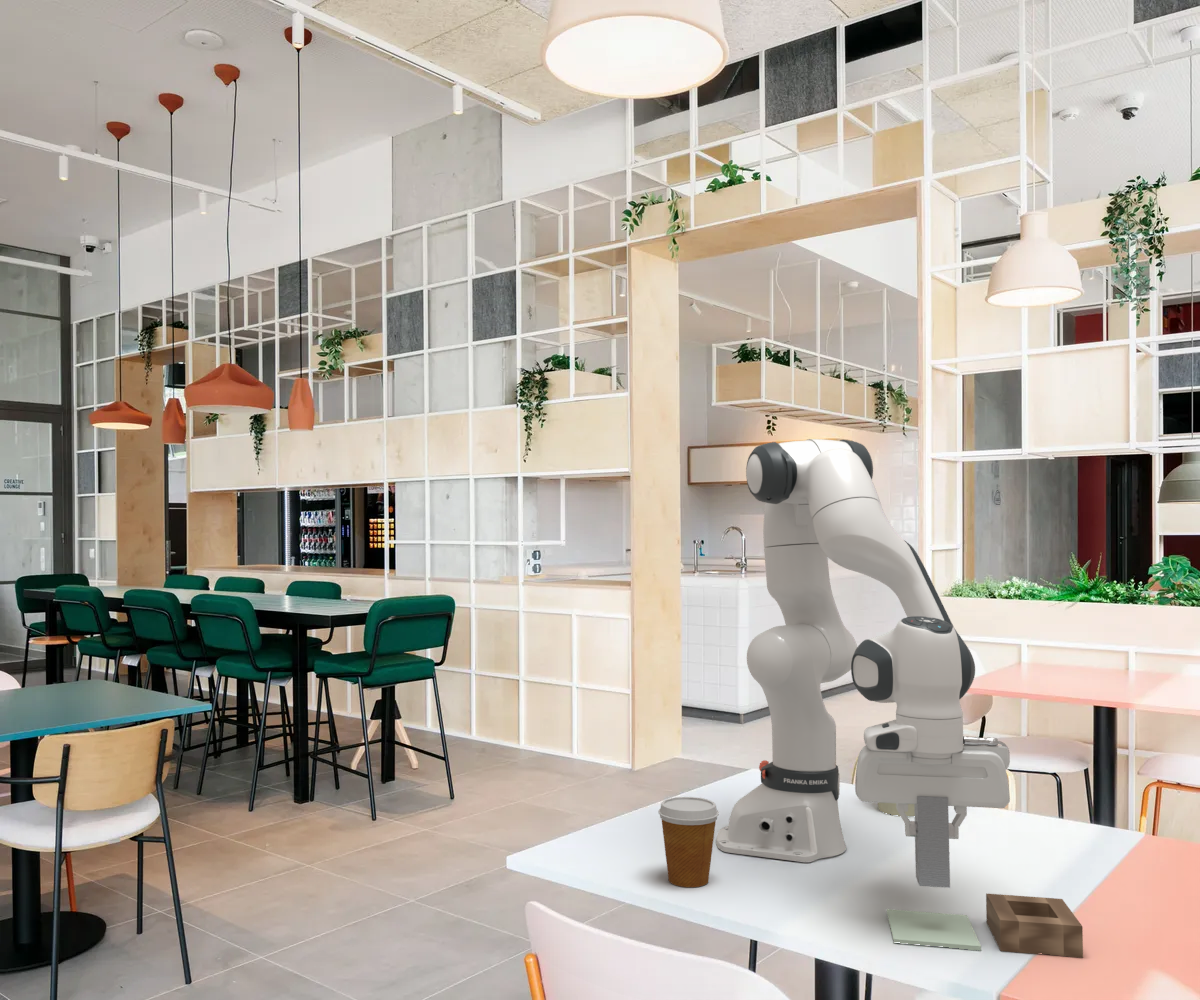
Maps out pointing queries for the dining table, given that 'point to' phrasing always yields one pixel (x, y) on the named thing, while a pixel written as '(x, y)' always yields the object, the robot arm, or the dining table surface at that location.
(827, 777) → the robot arm
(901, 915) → the mat
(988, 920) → the socket block
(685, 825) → the disposable coffee cup
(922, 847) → the peg
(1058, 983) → the dining table surface
